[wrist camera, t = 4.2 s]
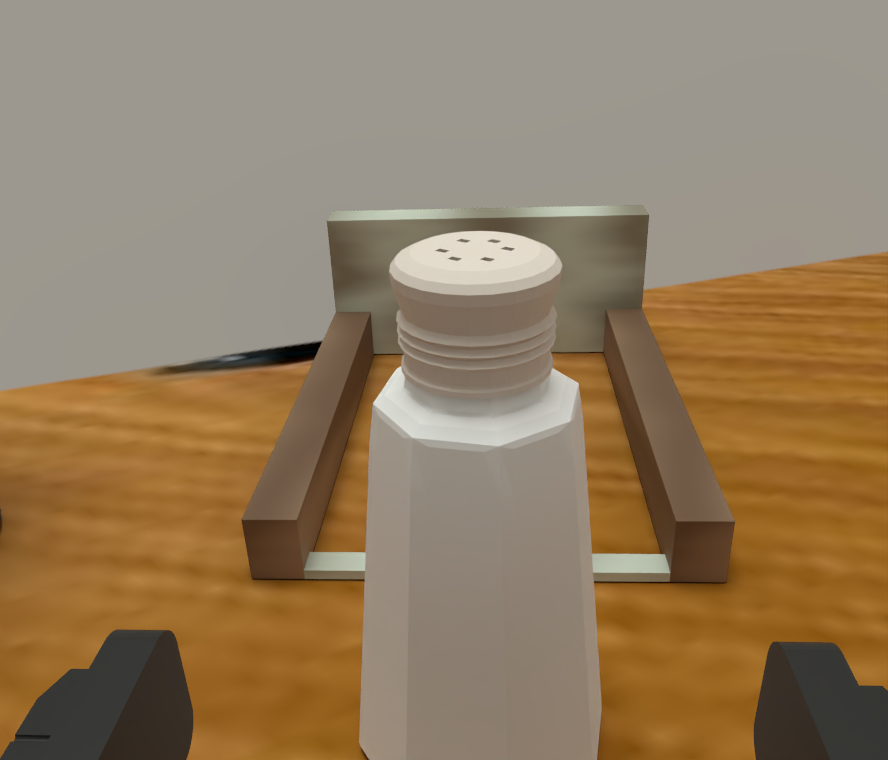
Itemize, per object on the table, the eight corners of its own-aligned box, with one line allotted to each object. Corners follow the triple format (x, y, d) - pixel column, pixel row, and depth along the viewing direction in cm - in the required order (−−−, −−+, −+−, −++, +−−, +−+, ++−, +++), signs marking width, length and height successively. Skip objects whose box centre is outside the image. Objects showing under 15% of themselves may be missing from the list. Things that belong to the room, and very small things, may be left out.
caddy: (251, 578, 23) (218, 387, 20) (345, 340, 38) (333, 211, 35) (725, 582, 22) (755, 383, 20) (633, 337, 37) (643, 205, 34)
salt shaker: (454, 611, 22) (440, 193, 17) (649, 706, 19) (701, 232, 14) (307, 757, 18) (233, 268, 13) (523, 904, 15) (532, 344, 10)
